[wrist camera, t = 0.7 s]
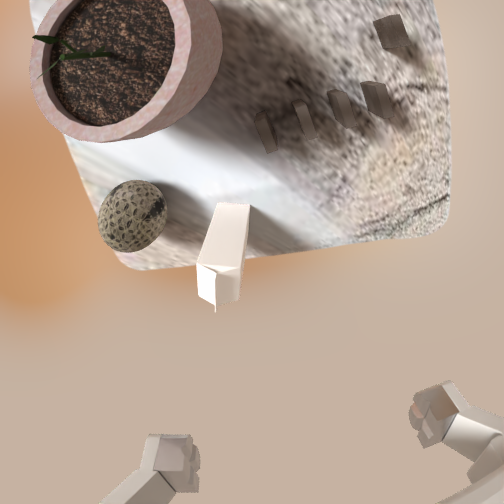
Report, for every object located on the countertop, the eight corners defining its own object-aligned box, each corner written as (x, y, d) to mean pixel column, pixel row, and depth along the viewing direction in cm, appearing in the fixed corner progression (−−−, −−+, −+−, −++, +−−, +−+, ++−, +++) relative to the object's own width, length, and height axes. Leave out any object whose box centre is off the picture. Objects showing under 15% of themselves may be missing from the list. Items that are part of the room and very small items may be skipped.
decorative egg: (136, 230, 60) (106, 275, 48) (111, 181, 54) (71, 218, 41) (185, 215, 57) (161, 261, 45) (161, 160, 51) (126, 195, 39)
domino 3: (326, 91, 43) (336, 96, 36) (335, 89, 42) (346, 93, 36) (335, 119, 45) (346, 128, 39) (344, 116, 45) (356, 125, 38)
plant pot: (227, 122, 47) (174, 195, 22) (100, 121, 47) (-19, 188, 22) (240, -11, 33) (200, -98, 9) (104, 1, 33) (-24, -15, 8)
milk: (217, 229, 59) (193, 311, 41) (218, 201, 55) (189, 278, 37) (249, 232, 59) (237, 316, 41) (251, 203, 55) (238, 283, 37)
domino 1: (256, 113, 46) (254, 122, 39) (266, 110, 45) (265, 118, 39) (267, 140, 48) (267, 153, 42) (276, 137, 48) (277, 149, 41)
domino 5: (360, 82, 41) (375, 86, 35) (368, 80, 41) (385, 84, 34) (368, 110, 44) (384, 118, 37) (376, 108, 43) (394, 116, 37)
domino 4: (372, 21, 34) (390, 15, 28) (381, 20, 34) (399, 14, 28) (382, 48, 37) (401, 46, 30) (391, 47, 37) (410, 45, 30)
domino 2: (291, 102, 44) (295, 108, 38) (300, 99, 44) (306, 104, 37) (301, 129, 47) (307, 140, 40) (310, 126, 46) (317, 137, 40)
